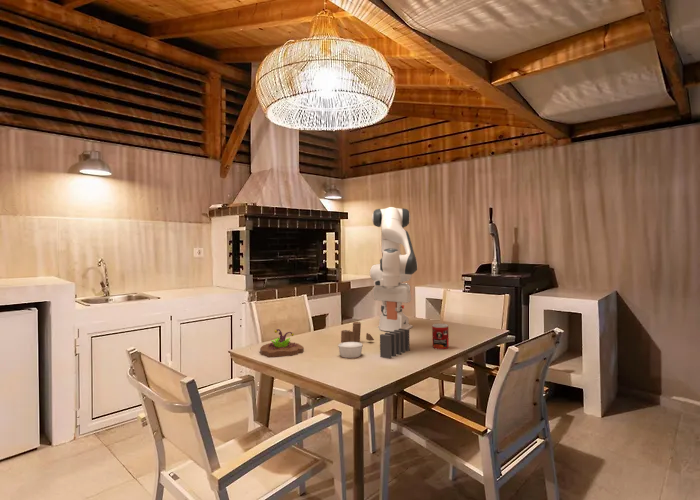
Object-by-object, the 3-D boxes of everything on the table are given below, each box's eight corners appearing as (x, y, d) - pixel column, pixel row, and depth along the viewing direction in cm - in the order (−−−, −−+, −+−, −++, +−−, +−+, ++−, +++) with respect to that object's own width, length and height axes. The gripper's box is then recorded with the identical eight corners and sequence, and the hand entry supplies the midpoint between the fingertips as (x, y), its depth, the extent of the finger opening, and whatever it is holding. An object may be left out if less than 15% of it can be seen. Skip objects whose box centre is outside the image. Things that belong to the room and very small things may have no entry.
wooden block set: (346, 348, 203) (347, 327, 202) (336, 343, 210) (337, 323, 209) (374, 343, 214) (375, 323, 213) (363, 339, 221) (364, 320, 220)
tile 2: (396, 350, 196) (395, 329, 196) (405, 352, 193) (405, 330, 193) (394, 351, 195) (394, 330, 195) (403, 352, 192) (403, 331, 192)
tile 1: (400, 349, 199) (400, 328, 199) (409, 350, 196) (409, 329, 196) (398, 349, 198) (398, 328, 198) (407, 351, 195) (407, 330, 195)
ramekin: (338, 352, 194) (338, 341, 194) (362, 352, 194) (362, 341, 194) (337, 359, 183) (337, 347, 183) (362, 359, 183) (362, 347, 183)
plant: (255, 350, 203) (255, 327, 203) (293, 345, 212) (292, 323, 212) (267, 359, 185) (266, 334, 185) (307, 353, 195) (307, 330, 195)
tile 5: (382, 356, 186) (381, 334, 186) (391, 357, 183) (391, 335, 183) (380, 356, 185) (379, 334, 185) (389, 358, 182) (389, 335, 182)
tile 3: (391, 352, 193) (391, 331, 193) (400, 354, 190) (400, 332, 190) (389, 353, 191) (389, 331, 191) (399, 354, 188) (398, 332, 188)
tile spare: (388, 318, 202) (388, 298, 202) (397, 319, 199) (396, 298, 199) (386, 318, 201) (386, 298, 200) (395, 319, 197) (395, 299, 197)
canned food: (431, 348, 199) (431, 326, 199) (433, 345, 206) (433, 323, 206) (447, 349, 196) (447, 326, 196) (449, 346, 203) (449, 323, 203)
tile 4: (387, 354, 190) (386, 332, 190) (396, 355, 186) (396, 333, 186) (385, 355, 188) (384, 333, 188) (394, 356, 185) (394, 334, 185)
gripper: (413, 282, 195) (414, 311, 196) (378, 280, 208) (378, 308, 208) (406, 283, 190) (407, 313, 191) (370, 281, 203) (371, 309, 204)
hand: (392, 310), depth 200 cm, fingers closed on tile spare, 5 cm apart
